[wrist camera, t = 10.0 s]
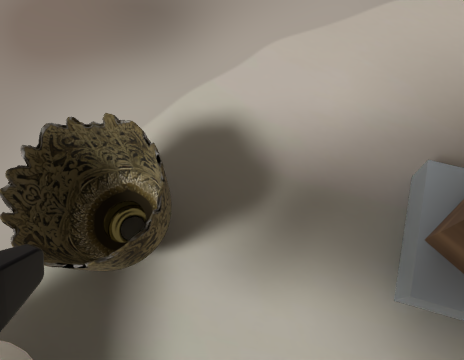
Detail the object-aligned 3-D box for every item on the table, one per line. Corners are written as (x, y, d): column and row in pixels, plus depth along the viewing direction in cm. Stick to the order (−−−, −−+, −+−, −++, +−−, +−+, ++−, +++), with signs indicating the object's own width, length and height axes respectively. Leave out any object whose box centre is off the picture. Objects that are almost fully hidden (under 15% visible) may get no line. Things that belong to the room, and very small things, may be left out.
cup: (194, 174, 26) (169, 109, 18) (187, 288, 23) (154, 266, 15) (85, 175, 26) (17, 112, 19) (66, 287, 23) (-23, 265, 16)
